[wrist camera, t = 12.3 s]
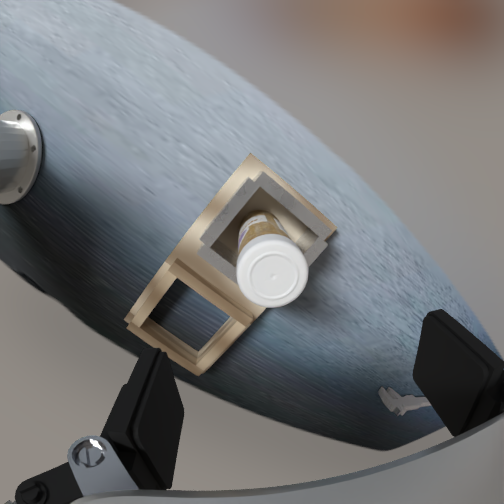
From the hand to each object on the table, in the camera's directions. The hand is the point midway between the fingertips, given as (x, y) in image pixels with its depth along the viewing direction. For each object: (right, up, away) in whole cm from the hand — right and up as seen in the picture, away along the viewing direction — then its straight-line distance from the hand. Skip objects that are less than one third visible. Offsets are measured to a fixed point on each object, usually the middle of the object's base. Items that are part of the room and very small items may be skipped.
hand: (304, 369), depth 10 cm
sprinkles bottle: (-1, +6, +22) cm, 23 cm away
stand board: (-5, +2, +24) cm, 25 cm away
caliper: (+27, -20, +32) cm, 47 cm away
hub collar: (-1, +6, +22) cm, 23 cm away
